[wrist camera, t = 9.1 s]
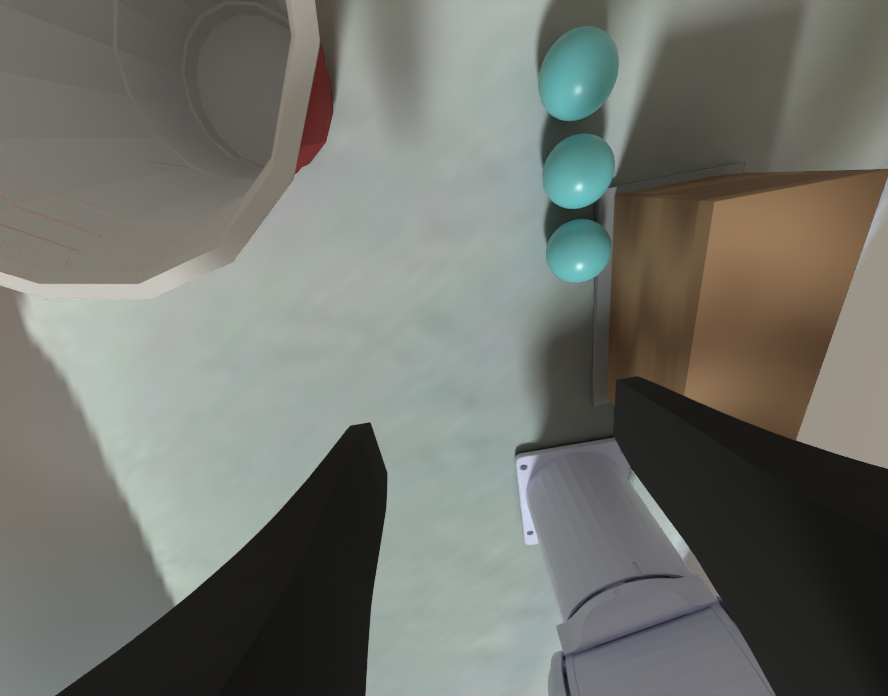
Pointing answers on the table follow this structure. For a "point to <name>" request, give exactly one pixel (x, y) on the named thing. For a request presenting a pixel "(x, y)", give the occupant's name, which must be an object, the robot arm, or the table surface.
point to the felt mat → (603, 280)
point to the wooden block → (737, 286)
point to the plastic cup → (149, 136)
